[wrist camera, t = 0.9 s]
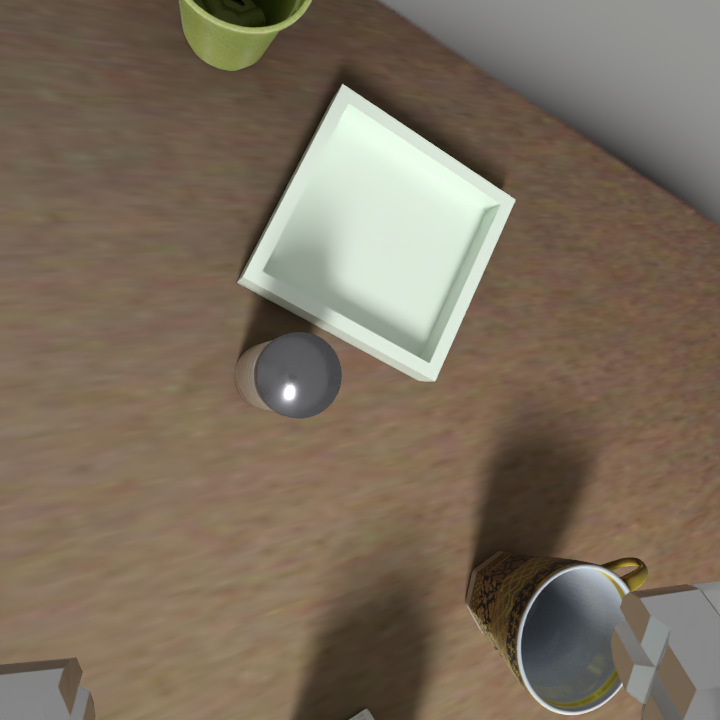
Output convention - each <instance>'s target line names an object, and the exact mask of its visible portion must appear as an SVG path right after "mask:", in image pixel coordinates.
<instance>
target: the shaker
mask: <svg viewBox="0 0 720 720" xmlns="http://www.w3.org/2000/svg"><path fill="white" fill-rule="evenodd" d="M341 373H342V372H341V366H340V362H339V359H338V357H337V355H336V353H335V351H334V350H333V349H332V347H331V346H330V345H329V344H328V343H327V342H326V341H324V340H323V339H322V338H320V337H318V336H316V335H314V334H310V333H305V332H293V333H289V334H285V335H282V336H280V337H277V338H275V339H274V340H271V341H268V342H264V343H261V344H258V345H255V346H253V347H251V348H249V349H248V350H247V351H245V352H244V353H243V354H242V356H241V357H240V359H239V360H238V362H237V365H236V368H235V373H234V379H235V385H236V388H237V390H238V392H239V394H240V395H241V397H242V398H243V399H244V400H245V401H246V402H247V403H249V404H250V405H252V406H254V407H257V408H261V409H265V410H269V411H273V412H276V413H278V414H280V415H283V416H287V417H291V418H308V417H311V416H314V415H317V414H319V413H320V412H322V411H324V410H325V409H326V408H327V407H328V406H329V405H330V404H331V403H332V402H333V400H334V399H335V397H336V396H337V394H338V391H339V389H340V385H341Z"/></svg>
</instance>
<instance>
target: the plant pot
mask: <svg viewBox="0 0 720 720" xmlns="http://www.w3.org/2000/svg"><path fill="white" fill-rule="evenodd" d="M241 1H243V2H244V5H243V6H241V5H240V4H238V3H236V2H234V1H232V0H179V6H180V13H181V21H182V27H183V32H184V35H185V37H186V39H187V41H188V43H189V44H190V46H191V48H192V49H193V51H194V52H195V54H196V55H197V56H198V57H200V58H201V59H202V60H203V61H205V62H206V63H208V64H210V65H212V66H214V67H216V68H219V69H223V70H228V71H236V70H239V69H242V68H245V67H248V66H250V65H252V64H254V63H256V62H257V61H258V60H259V59H260V58H261V57H262V55H263V54H264V52H265V51H266V49H267V48H268V47H269V45H270V44H271V42H272V41H273V39H274V38H275V36H276V35H277V34H278V32H279V31H280V30H283V29H285V28H287V27H289V26H290V25H292V24H293V23H295V22H296V21H297V20H298V19H299V18H300V17H301V16H302V15H303V14H304V13H305V11H306V10H307V8H308V7H309V5H310V3H311V1H312V0H241Z"/></svg>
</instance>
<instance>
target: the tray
mask: <svg viewBox="0 0 720 720" xmlns="http://www.w3.org/2000/svg"><path fill="white" fill-rule="evenodd" d="M514 202H515V199H514V198H512V197H511V196H509V195H508V194H506V193H505V192H503V191H502V190H500V189H499V188H497V187H496V186H494V185H493V184H491V183H490V182H488V181H487V180H485V179H484V178H482V177H481V176H479V175H478V174H476V173H475V172H473V171H472V170H470V169H469V168H467V167H466V166H464V165H463V164H461V163H460V162H458V161H457V160H455V159H454V158H452V157H451V156H449V155H448V154H447V153H445V152H444V151H442V150H441V149H439V148H438V147H436V146H435V145H433V144H432V143H430V142H429V141H427V140H426V139H424V138H423V137H421V136H420V135H418V134H417V133H415V132H414V131H412V130H411V129H409V128H408V127H406V126H405V125H403V124H402V123H400V122H399V121H397V120H396V119H394V118H393V117H391V116H390V115H388V114H387V113H385V112H384V111H382V110H381V109H379V108H378V107H376V106H375V105H373V104H372V103H370V102H369V101H367V100H366V99H364V98H363V97H361V96H360V95H358V94H357V93H355V92H354V91H352V90H351V89H350V88H348V87H347V86H345V85H344V84H342V86H341V87H340V89H339V90H338V91H337V93H336V94H335V96H334V97H333V99H332V100H331V102H330V104H329V106H328V108H327V110H326V112H325V114H324V116H323V118H322V120H321V121H320V123H319V125H318V127H317V129H316V131H315V133H314V135H313V137H312V139H311V141H310V143H309V145H308V147H307V148H306V150H305V152H304V154H303V156H302V158H301V160H300V162H299V164H298V166H297V168H296V170H295V172H294V174H293V175H292V177H291V179H290V181H289V183H288V185H287V187H286V189H285V191H284V193H283V195H282V197H281V199H280V200H279V202H278V204H277V206H276V208H275V210H274V212H273V214H272V216H271V218H270V220H269V222H268V224H267V226H266V227H265V229H264V231H263V233H262V235H261V237H260V239H259V241H258V243H257V245H256V247H255V249H254V251H253V253H252V254H251V256H250V258H249V260H248V262H247V264H246V266H245V268H244V270H243V272H242V274H241V276H240V278H239V280H238V281H237V283H238V284H240V285H242V286H244V287H245V288H247V289H249V290H251V291H253V292H255V293H257V294H258V295H260V296H262V297H264V298H266V299H268V300H270V301H271V302H273V303H275V304H277V305H279V306H281V307H283V308H284V309H286V310H288V311H290V312H292V313H294V314H296V315H297V316H299V317H301V318H303V319H305V320H307V321H309V322H310V323H312V324H314V325H316V326H318V327H320V328H322V329H323V330H325V331H327V332H329V333H331V334H333V335H335V336H336V337H338V338H340V339H342V340H344V341H346V342H348V343H349V344H351V345H353V346H355V347H357V348H359V349H361V350H362V351H364V352H366V353H368V354H370V355H372V356H374V357H375V358H377V359H379V360H381V361H383V362H385V363H387V364H388V365H390V366H392V367H394V368H396V369H398V370H400V371H401V372H403V373H405V374H407V375H409V376H411V377H413V378H414V379H416V380H418V381H435V380H436V378H437V376H438V374H439V371H440V369H441V367H442V365H443V362H444V360H445V358H446V356H447V353H448V351H449V349H450V347H451V344H452V342H453V340H454V338H455V335H456V333H457V331H458V328H459V326H460V324H461V322H462V319H463V317H464V315H465V313H466V310H467V308H468V306H469V304H470V301H471V299H472V297H473V295H474V292H475V290H476V288H477V286H478V283H479V281H480V279H481V277H482V274H483V272H484V270H485V268H486V265H487V263H488V261H489V259H490V256H491V254H492V252H493V250H494V247H495V245H496V243H497V241H498V238H499V236H500V234H501V232H502V229H503V227H504V225H505V223H506V220H507V218H508V216H509V214H510V211H511V209H512V207H513V205H514Z"/></svg>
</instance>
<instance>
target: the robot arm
mask: <svg viewBox="0 0 720 720" xmlns="http://www.w3.org/2000/svg"><path fill="white" fill-rule="evenodd" d="M620 609H621V611H622V613H623V615H624V616H625V618H624V619H623V620H622V621H621V622H619V623H618V624H617V625H616V626H615V627H614V630H613V634H612V639H611V648H612V657H613V662H614V665H615V668H616V671H617V674H618V676H619V678H620V680H621V682H622V684H623V686H624V688H625V690H626V691H627V692H628V693H630V694H631V695H632V696H633V697H635V698H636V699H637V700H639V701H640V702H641V703H643V707H642V714H641V720H720V581H716V582H708V583H701V584H694V585H687V584H685V585H677V586H670V587H662V588H655V589H647V590H640V591H633V592H629V593H627V594H626V595H625V596H624V597H623V599H622V602H621V606H620ZM81 676H82V669H81V667H80V665H79V663H78V660H77V658H76V657H75V658H65V659H55V660H44V661H34V662H24V663H14V664H4V665H0V720H95V710H94V702H93V699H92V696H91V693H90V691H89V690H87V689H85V688H84V687H82V686H80V685H79V683H80V679H81Z"/></svg>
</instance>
